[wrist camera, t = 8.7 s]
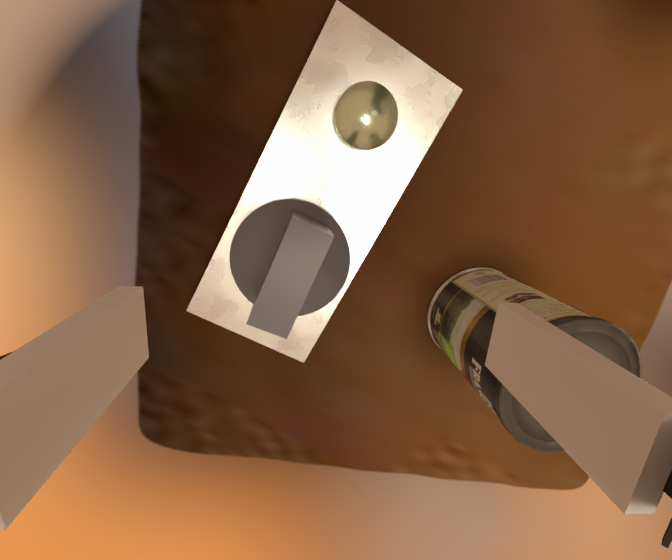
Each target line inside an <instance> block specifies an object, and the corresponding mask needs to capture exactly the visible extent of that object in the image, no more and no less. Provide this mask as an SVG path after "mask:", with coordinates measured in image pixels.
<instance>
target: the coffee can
mask: <svg viewBox="0 0 672 560" xmlns="http://www.w3.org/2000/svg"><path fill="white" fill-rule="evenodd" d="M499 302H507V303H518V304H520V305H521V306H523V307H525V308H526V309H528V310H530V311H531V312H533V313H534V314H536V315H538V316H539V317H541V318H543V319H544V320H546V321H547V322H549V323H551V324H552V325H554V326H556V327H557V328H559V329H561V330H562V331H564V332H565V333H567V334H569V335H570V336H572V337H574V338H575V339H577V340H579V341H580V342H582V343H583V344H585V345H587V346H588V347H590V348H592V349H593V350H595V351H597V352H598V353H600V354H601V355H603V356H605V357H606V358H608V359H610V360H611V361H613V362H614V363H616V364H618V365H619V366H621V367H623V368H624V369H626V370H628V371H629V372H631V373H632V374H634V375H636V376H637V377H639V378H641V374H642V361H641V355H640V352H639V349H638V347H637V344H636V343H635V341H634V340H633V338H632V337H631V336H630V335H629V334H628V333H627V332H626V331H625V330H624V329H622V328H621V327H619V326H617V325H615V324H613V323H611V322H608V321H606V320H603V319H600V318H595V317H593V316H591V315H589V314H587V313H585V312H583V311H581V310H579V309H576V308H574V307H573V306H570V305H568V304H566V303H564V302H562V301H560V300H557V299H555V298H553V297H551V296H549V295H547V294H544V293H542V292H540V291H538V290H536V289H534V288H532V287H530V286H528V285H526V284H523V283H522V282H520V281H517V280H515V279H513V278H511V277H509V276H506V275H505V274H504V273H502V272H500V271H498V270H495V269H492V268H487V267H477V268H471V269H467V270H464V271H461V272H459V273H457V274H455V275H453V276H452V277H450V278H449V279H448V280H447V281H446V282H444V283H443V284H442V285H441V286H440V288H439V289H438V290H437V291H436V293H435V295H434V296H433V298H432V300H431V303H430V306H429V309H428V319H427V322H428V329H429V332H430V335H431V337H432V339H433V341H434V342H435V343H436V345H437V346H438V347H439V348H440V349H442V350H443V352H444V353H445V354H446V355H447V356H448V358H449V359H450V360H451V361H452V362H453V364H454V365H455V366H456V367H457V368H458V369H459V371H460V372H461V373H462V374H463V375H464V377H465V378H466V379H467V380H468V381H469V383H470V384H471V385H472V386H473V387H474V389H475V390H476V391H477V392H478V393H479V395H480V396H481V397H482V398H483V399H484V401H485V402H486V403H487V404H488V405H489V406H490V408H491V409H492V410H493V411H494V413H495V414H496V415H497V416H498V417H499V418H500V420H501V422H502V424H503V425H504V427H505V428H506V430H507V431H508V432H509V433H510V435H512V436H513V438H514V439H515V440H517V441H518V442H520V443H521V444H523V445H525V446H527V447H529V448H532V449H536V450H540V451H546V452H552V451H564V449H563V448H562V447H561V446H560V445H559V444H558V443H557V442H556V441H555V439H554V438H553V437H552V436H551V435H550V434H549V433H548V432H547V431H546V430H545V429H544V428H543V427H542V426H541V425H540V423H539V422H538V421H537V420H536V419H535V418H534V417H533V416H532V415H531V414H530V413H529V412H528V411H527V410H526V409H525V408H524V406H523V405H522V404H521V403H520V402H519V401H518V400H517V399H516V398H515V397H514V396H513V395H512V394H511V393H510V392H509V391H508V389H507V388H506V387H505V386H504V385H503V384H502V383H501V382H500V381H499V380H498V379H497V378H496V377H495V376H494V375H493V373H492V372H491V371H490V370H489V369H488V368H487V367H486V366H485V362H486V357H487V353H488V348H489V344H490V339H491V335H492V330H493V325H494V321H495V316H496V312H497V307H498V303H499Z"/></svg>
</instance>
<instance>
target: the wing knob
mask: <svg viewBox="0 0 672 560" xmlns="http://www.w3.org/2000/svg"><path fill="white" fill-rule="evenodd" d="M229 260H230V268H231V272H232V276H233V278H234V281H235V283H236V285H237V287H238V288H239V290H240V291H241V293H242V294H243V295H244V296H245V297H246V298H247V299H248V300H249V301H250V302H251V303H252V304H253V306H252V309H251V312H250V315H249V318H248V320H247V323H246V324H247V325H250V326H253V327H255V328H258V329H261V330H263V331H266V332H269V333H271V334H274V335H277V336H279V337H282V338H285V339H287V338H288V335H289V333H290V331H291V329H292V327H293V325H294V322H295V320H296V318H297V316H302V315H307V314H310V313H313V312H315V311H317V310H320V309H321V308H323V307H325V306H326V305H327V304H329V303H330V302H331V301H332V300H333V299H334V298H335V297H336V296H337V295H338V293H339V292H340V291H341V289H342V287H343V286H344V284H345V282H346V279H347V277H348V273H349V268H350V250H349V245H348V241H347V238H346V236H345V234H344V232H343V230H342V229H341V227H340V225H339V224H338V223H337V222H336V220H335V219H334V218H333V217H332V216H331V215H330V214H329V213H328V212H327V211H325V210H324V209H323V208H321V207H320V206H318V205H316V204H314V203H312V202H309V201H306V200H302V199H295V198H284V199H277V200H274V201H270V202H268V203H266V204H264V205H262V206H260V207H258V208H257V209H255V210H254V211H253V212H252V213H250V214H249V215H248V216H247V217H246V218H245V219H244V220H243V221H242V223H241V224H240V225H239V227H238V228H237V230H236V232H235V234H234V236H233V239H232V243H231V247H230V258H229Z"/></svg>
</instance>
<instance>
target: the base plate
mask: <svg viewBox="0 0 672 560" xmlns="http://www.w3.org/2000/svg"><path fill="white" fill-rule="evenodd" d="M461 92H462V89H461V88H459V87H458V86H457V85H455V84H454V83H452V82H451V81H450V80H448V79H447V78H445V77H444V76H443V75H441V74H440V73H438V72H437V71H436V70H434V69H433V68H431V67H430V66H429V65H427V64H426V63H425V62H423V61H422V60H420V59H419V58H418V57H416V56H415V55H413V54H412V53H411V52H409V51H408V50H406V49H405V48H404V47H402V46H401V45H399V44H398V43H397V42H395V41H394V40H392V39H391V38H390V37H388V36H387V35H385V34H384V33H383V32H381V31H380V30H378V29H377V28H376V27H374V26H373V25H371V24H370V23H369V22H367V21H366V20H364V19H363V18H362V17H360V16H359V15H357V14H356V13H355V12H353V11H352V10H350V9H349V8H348V7H346V6H345V5H343V4H342V3H341V2H339V1H338V0H336V2H335V4H334V6H333V8H332V10H331V13H330V15H329V17H328V19H327V21H326V23H325V25H324V27H323V29H322V31H321V33H320V35H319V37H318V39H317V41H316V44H315V46H314V48H313V50H312V52H311V54H310V56H309V58H308V60H307V62H306V64H305V66H304V68H303V70H302V73H301V75H300V77H299V79H298V81H297V83H296V85H295V87H294V89H293V91H292V93H291V95H290V97H289V99H288V101H287V104H286V106H285V108H284V110H283V112H282V114H281V116H280V118H279V120H278V122H277V124H276V126H275V128H274V130H273V132H272V135H271V137H270V139H269V141H268V143H267V145H266V147H265V149H264V151H263V153H262V155H261V157H260V159H259V161H258V164H257V166H256V168H255V170H254V172H253V174H252V176H251V178H250V180H249V182H248V184H247V186H246V188H245V190H244V192H243V195H242V197H241V199H240V201H239V203H238V205H237V207H236V209H235V211H234V213H233V215H232V217H231V219H230V221H229V223H228V226H227V228H226V230H225V232H224V234H223V236H222V238H221V240H220V242H219V244H218V246H217V248H216V250H215V252H214V255H213V257H212V259H211V261H210V263H209V265H208V267H207V269H206V271H205V273H204V275H203V277H202V279H201V281H200V283H199V286H198V288H197V290H196V292H195V294H194V296H193V298H192V300H191V302H190V304H189V306H188V308H187V310H186V311H188V312H190V313H192V314H195V315H197V316H199V317H201V318H204V319H206V320H208V321H211V322H213V323H215V324H217V325H220V326H222V327H224V328H226V329H229V330H231V331H233V332H235V333H238V334H240V335H242V336H244V337H247V338H249V339H251V340H254V341H256V342H258V343H260V344H263V345H265V346H267V347H269V348H272V349H274V350H276V351H278V352H281V353H283V354H285V355H287V356H290V357H292V358H294V359H297V360H299V361H301V362H303V363H304V362H305V360H306V358H307V356H308V355H309V353H310V351H311V350H312V348H313V346H314V344H315V343H316V341H317V339H318V338H319V336H320V334H321V332H322V331H323V329H324V327H325V326H326V324H327V322H328V320H329V319H330V317H331V315H332V314H333V312H334V310H335V308H336V307H337V305H338V303H339V302H340V300H341V298H342V296H343V295H344V293H345V291H346V289H347V288H348V286H349V284H350V283H351V281H352V279H353V277H354V276H355V274H356V272H357V271H358V269H359V267H360V265H361V264H362V262H363V260H364V259H365V257H366V255H367V253H368V252H369V250H370V248H371V247H372V245H373V243H374V241H375V240H376V238H377V236H378V234H379V233H380V231H381V229H382V228H383V226H384V224H385V222H386V221H387V219H388V217H389V216H390V214H391V212H392V210H393V209H394V207H395V205H396V204H397V202H398V200H399V198H400V197H401V195H402V193H403V192H404V190H405V188H406V186H407V185H408V183H409V181H410V179H411V178H412V176H413V174H414V173H415V171H416V169H417V167H418V166H419V164H420V162H421V161H422V159H423V157H424V155H425V154H426V152H427V150H428V149H429V147H430V145H431V143H432V142H433V140H434V138H435V137H436V135H437V133H438V131H439V130H440V128H441V126H442V124H443V123H444V121H445V119H446V118H447V116H448V114H449V112H450V111H451V109H452V107H453V106H454V104H455V102H456V100H457V99H458V97H459V95H460V94H461ZM284 198H295V199H302V200H306V201H309V202H312V203H314V204H316V205H318V206H320V207H321V208H323V209H324V210H325V211H327V212H328V213H329V214H330V215H331V216H332V217H333V218H334V219H335V220H336V222H337V223H338V224H339V225H340V227H341V229H342V230H343V232H344V234H345V236H346V238H347V241H348V245H349V250H350V268H349V273H348V277H347V279H346V282H345V284H344V286H343V287H342V289H341V291H340V292H339V293H338V295H337V296H336V297H335V298H334V299H333V300H332V301H331V302H330V303H329V304H327V305H326V306H325V307H323V308H321V309H320V310H317V311H315V312H313V313H310V314H307V315H302V316H297V318H296V320H295V322H294V325H293V327H292V329H291V331H290V333H289V335H288V338H287V339H285V338H282V337H279V336H277V335H274V334H271V333H269V332H266V331H263V330H261V329H258V328H255V327H253V326H250V325H247V324H246V323H247V320H248V318H249V315H250V312H251V309H252V306H253V304H252V303H251V302H250V301H249V300H248V299H247V298H246V297H245V296H244V295H243V294H242V293H241V291H240V290H239V288H238V287H237V285H236V283H235V281H234V278H233V276H232V272H231V268H230V260H229V258H230V247H231V243H232V239H233V236H234V234H235V232H236V230H237V228H238V227H239V225H240V224H241V223H242V221H243V220H244V219H245V218H246V217H247V216H248V215H249V214H250V213H252V212H253V211H254V210H255V209H257V208H258V207H260V206H262V205H264V204H266V203H268V202H270V201H274V200H277V199H284Z"/></svg>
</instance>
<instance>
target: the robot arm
mask: <svg viewBox="0 0 672 560" xmlns="http://www.w3.org/2000/svg"><path fill="white" fill-rule="evenodd" d="M148 358H149V353H148V341H147V329H146V317H145V305H144V293H143V287H136V286H119V287H117V288H115V289H114V290H112V291H111V292H109V293H108V294H106V295H104V296H103V297H101V298H99V299H98V300H96V301H94V302H93V303H91V304H90V305H88V306H86V307H85V308H83V309H82V310H80V311H78V312H77V313H75V314H73V315H72V316H70V317H69V318H67V319H65V320H64V321H62V322H61V323H59V324H57V325H56V326H54V327H52V328H51V329H49V330H48V331H46V332H44V333H43V334H41V335H40V336H38V337H36V338H35V339H33V340H32V341H30V342H29V343H27V344H25V345H24V346H22V347H20V348H19V349H17V350H15V351H13V352H11V353H8V354H6V355H3V356H0V530H6V528H7V527H8V526H9V525H10V523H11V522H12V521H13V520H14V519H15V518H16V516H17V515H18V514H19V513H20V512H21V510H22V509H23V508H24V507H25V506H26V504H27V503H28V502H29V501H30V499H31V498H32V497H33V496H34V495H35V494H36V492H37V491H38V490H39V488H41V486H42V485H43V484H44V483H45V482H46V480H47V479H48V478H49V477H50V476H51V474H52V473H53V472H54V471H55V470H56V468H57V467H58V466H59V465H60V464H61V462H62V461H63V460H64V459H65V458H66V456H67V455H68V454H69V453H70V452H71V450H72V449H73V448H74V447H75V446H76V444H77V443H78V442H79V441H80V440H81V438H82V437H83V436H84V435H85V434H86V432H87V431H88V430H89V429H90V428H91V426H92V425H93V424H94V423H95V422H96V420H97V419H98V418H99V417H100V416H101V414H102V413H103V412H104V411H105V410H106V408H107V407H108V406H109V405H110V404H111V402H112V401H113V400H114V399H115V397H116V396H117V395H118V394H119V393H120V391H121V390H122V389H123V388H124V387H125V385H126V384H127V383H128V382H129V381H130V379H131V378H132V377H133V376H134V375H135V374H136V372H137V371H138V370H139V369H140V368H141V366H142V365H143V364H144V363H145V362H146V360H147V359H148ZM485 366H486V367H487V368H488V369H489V370H490V371H491V372H492V373H493V375H494V376H495V377H496V378H497V379H498V380H499V381H500V382H501V383H502V384H503V385H504V386H505V387H506V388H507V389H508V391H509V392H510V393H511V394H512V395H513V396H514V397H515V398H516V399H517V400H518V401H519V402H520V403H521V404H522V405H523V406H524V408H525V409H526V410H527V411H528V412H529V413H530V414H531V415H532V416H533V417H534V418H535V419H536V420H537V421H538V422H539V423H540V425H541V426H542V427H543V428H544V429H545V430H546V431H547V432H548V433H549V434H550V435H551V436H552V437H553V438H554V439H555V441H556V442H557V443H558V444H559V445H560V446H561V447H562V448H563V449H564V450H565V451H566V452H567V453H568V454H569V455H570V456H571V458H572V459H573V460H574V461H575V462H576V463H577V464H578V465H579V466H580V467H581V468H582V469H583V470H584V471H585V472H586V474H587V475H588V476H589V477H590V478H591V479H592V480H593V481H594V482H595V483H596V484H597V485H598V486H599V487H600V488H601V489H602V491H603V492H604V493H605V494H606V495H607V496H608V497H609V498H610V499H611V500H612V501H613V502H614V503H615V504H616V505H617V506H618V508H619V509H620V510H621V511H622V512H623V513H624V514H648V513H655V511H656V508H657V506H658V504H659V501H660V499H661V497H662V494H663V492H665V493H666V494H667V495H668V496H669V497H671V498H672V397H670V396H668V395H667V394H665V393H663V392H662V391H660V390H659V389H657V388H655V387H654V386H652V385H650V384H649V383H647V382H646V381H644V380H642V379H641V378H639V377H637V376H636V375H634V374H632V373H631V372H629V371H628V370H626V369H624V368H623V367H621V366H619V365H618V364H616V363H614V362H613V361H611V360H610V359H608V358H606V357H605V356H603V355H601V354H600V353H598V352H597V351H595V350H593V349H592V348H590V347H588V346H587V345H585V344H583V343H582V342H580V341H579V340H577V339H575V338H574V337H572V336H570V335H569V334H567V333H565V332H564V331H562V330H561V329H559V328H557V327H556V326H554V325H552V324H551V323H549V322H547V321H546V320H544V319H543V318H541V317H539V316H538V315H536V314H534V313H533V312H531V311H530V310H528V309H526V308H525V307H523V306H521V305H520V304H518V303H507V302H499V303H498V307H497V312H496V316H495V321H494V325H493V330H492V335H491V339H490V344H489V348H488V353H487V357H486V362H485ZM671 541H672V519H671V521H670V523H669V525H668V528H667V530H666V532H665V534H664V536H663V539H662V545H663V546H665V547H667V548H668V547H669V545H670V543H671Z"/></svg>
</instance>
